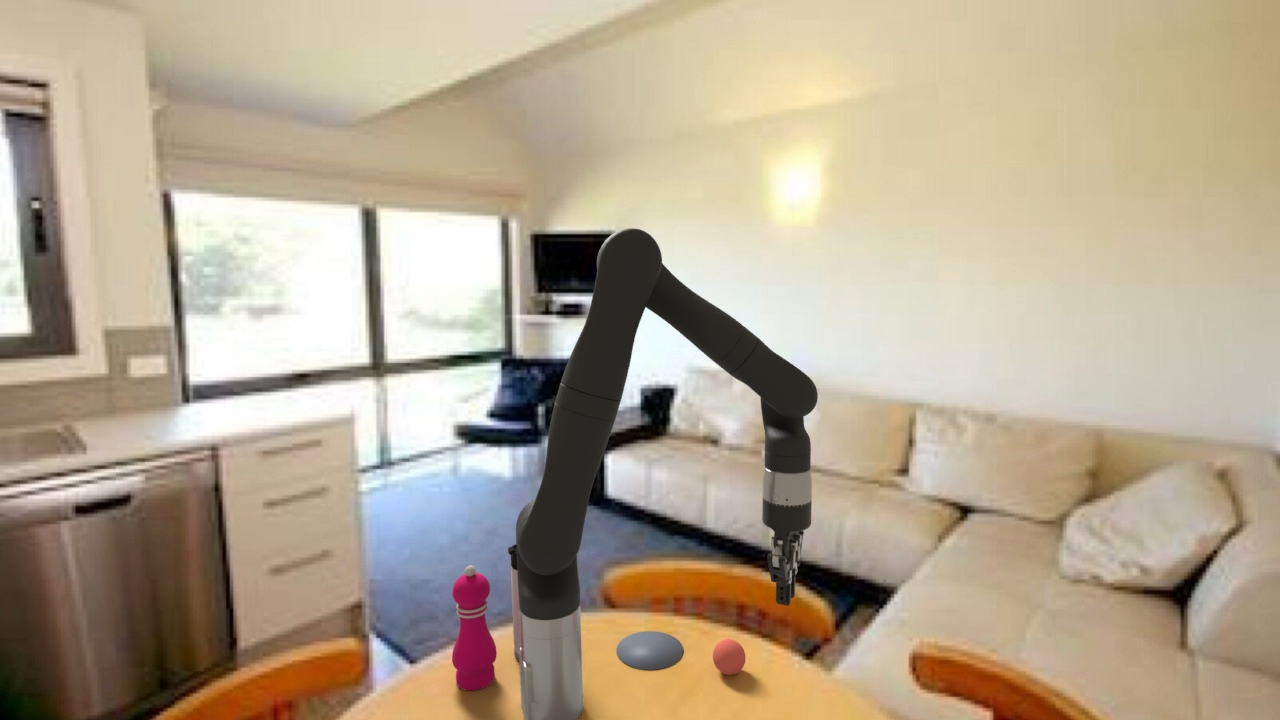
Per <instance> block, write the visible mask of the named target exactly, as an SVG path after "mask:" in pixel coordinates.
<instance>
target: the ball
mask: <svg viewBox="0 0 1280 720" xmlns="http://www.w3.org/2000/svg"><path fill="white" fill-rule="evenodd" d="M712 660H713V663H714V665H715V666H714V667H716V669H717V670H718V671H719V672H720V673H722V674H724V675H727V676H729V675H730V676H732V675H736V674H738V673H740V672H741V671H742V670H743V668H744V667H745V664H746V652H745V649H744V648H743V645H741V644H740V643H739V642H738V641H736V640H734V639H731V638H725V639H722V640H720V641H719V642H718V643H716V645H715V646H714V649H713V650H712Z"/></svg>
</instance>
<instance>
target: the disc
mask: <svg viewBox="0 0 1280 720" xmlns="http://www.w3.org/2000/svg"><path fill="white" fill-rule="evenodd" d="M615 652H616V657H618V659H619V661H621V662H622V663H623V664H625V665H626V666H628V667H630V668H633V669H637V670H641V671H642V670H643V671H654V670H655V671H656V670H662V669H665V668H669V667H671V666H673V665H675V664H676V663H678V662H679V660H680V659H682V656H683V654H684V646H683V644H682V643H681V642H680V640H679V639H678V638H676V637H675V636H673V635H671V634H668V633H665V632H661V631H656V630H647V631H646V630H645V631H638V632H635V633H632V634H629V635H627V636H625V637H624V638H622V639H621V640H620V641H619V643H618V644H617V646H616V651H615Z"/></svg>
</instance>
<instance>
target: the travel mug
mask: <svg viewBox="0 0 1280 720" xmlns="http://www.w3.org/2000/svg"><path fill="white" fill-rule="evenodd" d="M507 553H508V555H510V578H511V581H510V583H511V604H512V605H511V608H512V609H511V610H512V629H513V630H512V633H513V653H514V656H515V657H516V658H517V659H518V660H520V659H519V648H521V636H520V611H519V593H518V570H517V548H516V543H515V544H513V545H512V546H510V547H508V548H507Z"/></svg>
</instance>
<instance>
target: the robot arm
mask: <svg viewBox="0 0 1280 720" xmlns="http://www.w3.org/2000/svg"><path fill="white" fill-rule="evenodd" d="M660 248H661V247H660V246H659V244H658V243H657V241H656V239H655V238H654V237H653V236H652V235H651V234H649V233H648V232H647V231H645V230H642V229H640V228H634V227H632V228H623V229H620V230H619V231H618V230H617V231H616V232H614V233H613V234H611V235H610V236H609V237H607V238H606V239H605V240H604V242H603V243H602V245H601V247H600V249H599V251H598V253H597V258H596V270H597V271H596V276H595V277H596V278H595V283H594V287H593V293H592V298H591V303H590V307H589V311H588V313H587V314H588V315H587V317H586V320H585V323H584V326H583V328H582V330H581V332H580V334H579V337H578V338H577V340H576V342H575V344H574V347H573V349H572V351H571V354H570V356H569V358H568V360H567V363H566V366H565V369H564V372H563V374H562V377H561V381H560V383H559V387H558V390H557V394H556V397H555V400H554V405H553V410H552V413H551V419H550V424H549V431H548V437H547V447H546V457H545V464H544V465H545V466H544V470H543V474H542V475H543V476H542V479H541V482H540V486H539V489H538V491H537V494H536V497H535V498H534V499H532V500H530V501H529V502H528V503H526V505H524V507H523V508H522V509H521V511H520V512H519V514H518V517H517V519H516V522H515V541H516V542H515V544H516V548H517V570H518V593H519V611H520V636H521V648H519V659H518V660H519V677H520V679H519V683H520V684H519V685H520V703H521V704H520V705H521V708H522V714H523V717H524V720H578V719H579V718H580V716H581V715H582V713H583V710H584V689H583V688H584V687H583V685H584V684H583V654H582V627H581V626H582V624H581V623H582V622H581V618H582V617H581V613H582V612H581V585H580V579H579V569H578V553H579V551H580V549H581V544H582V539H583V533H584V527H585V522H586V517H587V510H588V507H589V501H590V496H591V492H592V488H593V485H594V482H595V479H596V476H597V474H598V471H599V469H600V467H601V463H602V461H603V459H604V458H603V457H604V454H605V452H606V448H607V445H608V443H609V439H610V436H611V433H612V431H613V427H614V425H615V422H616V419H617V415H618V412H619V408H620V405H621V401H622V397H623V396H624V395H623V394H624V391H625V390H624V389H625V386H626V382H627V378H628V375H629V374H628V373H629V369H630V365H631V360H632V354H633V348H634V344H635V339H636V335H637V331H638V328H639V326H640V323H641V320H642V317H643V314H644V312H645V310H646V309H648V310H649V311H650V312H652V313H654V314H655V315H657V316H658V317H659V318H661V319H662V320H663V321H665V322H666V323H667V324H669V325H670V326H671V327H672V328H674V329H675V330H676V331H677V332H678V333H680V334H681V335H682V336H683V337H684V338H685V339H687V340H688V341H689V342H690V343H692V344H693V345H694V346H695V347H696V348H697V349H698V350H699V351H701V352H702V353H703V355H705V356H706V357H707V358H708V359H710V360H711V361H712V362H714V363H715V364H716V365H717V366H719V367H720V368H721V369H722V370H724V371H725V372H726V373H728V374H729V375H730V376H731V377H733V378H734V379H736V380H738V381H739V382H741V383H743V384H744V385H746V386H748V388H750V389H751V390H752V391H753V392H754V393H755V394H756V395H758V396H759V397H760V398H759V399H760V409H761V416H762V418H761V419H762V424H763V431H764V440H765V441H764V470H763V478H762V523H763V525H764V526H766V527H768V529H769V528H770V529H771V530H772V531H773V532H774V534H773V536H771V539H770V548H771V553H768V554H767V557H766V560H767V566H768V569H769V570H768V571H769V575H770V581H771V583H775V602H776V604H778V605H782V606H789V605H790V604H791V603H792V599H793V598H794V597H795V595H796V575H797V573H798V567H800V565H801V557H802V556H801V555H802V554H801V553H802V545H803V539H804V534H805V530H808V529H809V528H810V527H811V526H812V509H813V508H812V505H813V504H812V501H813V500H812V498H813V497H812V495H813V482H812V481H813V480H812V471H811V455H812V454H811V451H812V446H811V445H812V444H811V442H812V441H811V437H810V435H809V433H808V432H807V430H806V427H805V420H804V418H805V416H808V415H809V414H810V413H812V412H813V410H814V409H815V407H816V406H817V403H818V398H819V397H818V396H819V395H818V388H817V386H816V384H815V383H814V381H813V380H812V378H811V377H810V376H808V375H807V374H806V373H804V371H802V370H801V369H800V368H798V367H797V366H795V365H794V364H793V363H791V362H789V361H788V360H787V359H786V358H784V357H782V356H781V355H780V354H778V353H776V352H775V351H774V350H772V348H770V347H768V346H767V344H765V342H763V340H761V339H760V338H759V337H758V336H757V335H755V333H753V332H752V331H751V330H749V329H748V328H747V327H745V326H744V325H743V324H742V323H741V322H739V321H738V320H737V319H735V317H733V316H731V315H730V314H729V313H727V312H726V311H724V310H722V309H720V308H719V307H718V306H716V305H714V304H713V303H711V302H709V300H706V299H705V298H703V297H702V296H700V295H699V294H697V293H696V292H695V291H693V290H692V289H690V288H689V287H688V286H687V285H686V284H684V282H682V281H681V280H679V278H677V277H676V276H675V275H674V274H673V273H672V272H671V271H670V270H669V269H668V268H667V267H666V266H665V264H664V263H663V256H662V251H661V249H660Z"/></svg>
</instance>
